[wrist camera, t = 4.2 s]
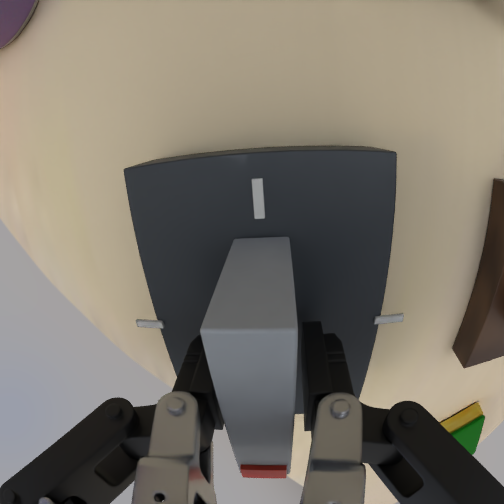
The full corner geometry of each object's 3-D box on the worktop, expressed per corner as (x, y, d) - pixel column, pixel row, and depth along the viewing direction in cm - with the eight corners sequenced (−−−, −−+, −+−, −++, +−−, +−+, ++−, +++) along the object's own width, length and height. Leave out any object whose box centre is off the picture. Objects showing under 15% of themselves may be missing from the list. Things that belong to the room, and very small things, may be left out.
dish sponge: (477, 400, 18) (485, 416, 16) (470, 440, 23) (474, 453, 20) (418, 432, 20) (424, 450, 18) (426, 463, 25) (429, 476, 22)
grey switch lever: (233, 238, 10) (195, 337, 5) (289, 235, 10) (299, 337, 5) (251, 384, 13) (239, 478, 8) (289, 384, 13) (290, 479, 8)
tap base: (133, 163, 12) (98, 174, 10) (392, 148, 11) (424, 154, 8) (184, 375, 18) (172, 410, 15) (363, 372, 17) (373, 409, 14)
